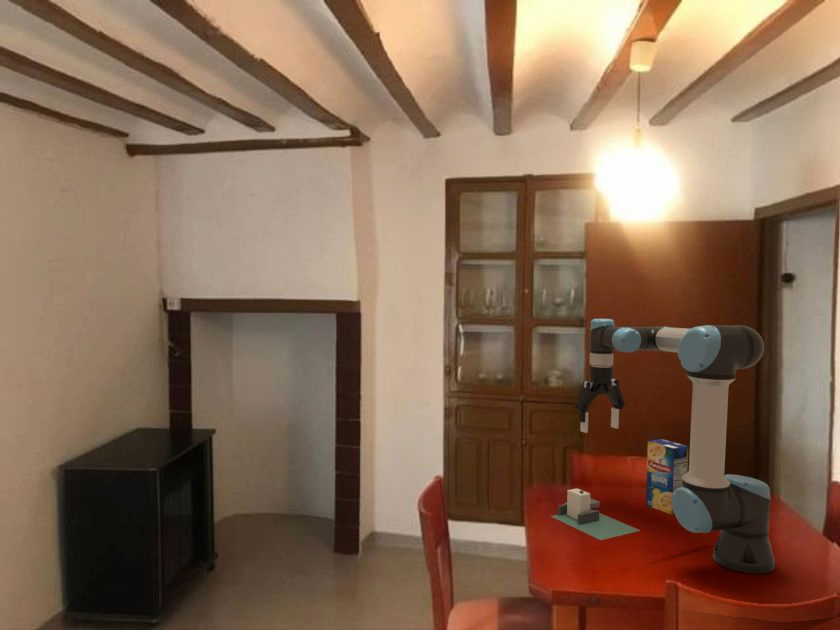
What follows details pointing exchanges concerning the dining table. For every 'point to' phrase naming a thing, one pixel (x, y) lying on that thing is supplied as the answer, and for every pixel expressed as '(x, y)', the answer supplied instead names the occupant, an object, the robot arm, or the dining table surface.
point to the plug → (577, 502)
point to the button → (594, 503)
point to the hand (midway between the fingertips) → (599, 429)
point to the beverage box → (664, 472)
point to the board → (594, 523)
